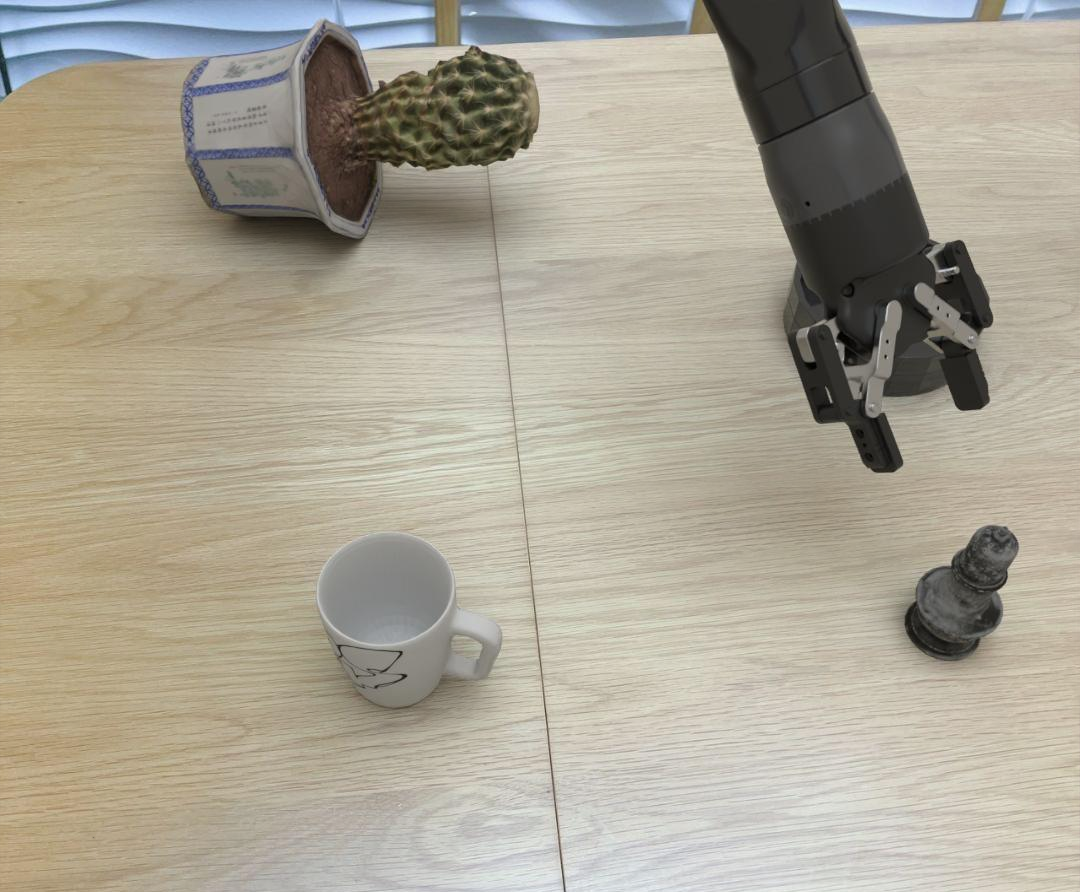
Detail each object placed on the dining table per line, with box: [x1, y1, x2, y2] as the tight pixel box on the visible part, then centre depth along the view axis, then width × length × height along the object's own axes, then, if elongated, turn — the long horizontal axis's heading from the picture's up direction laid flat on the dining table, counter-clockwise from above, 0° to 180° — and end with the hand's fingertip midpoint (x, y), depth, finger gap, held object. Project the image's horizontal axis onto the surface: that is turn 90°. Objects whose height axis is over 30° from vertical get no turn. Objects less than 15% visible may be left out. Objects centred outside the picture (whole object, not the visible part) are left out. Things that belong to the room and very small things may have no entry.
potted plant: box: [179, 17, 541, 240], centre depth 95 cm, size 18×18×30 cm
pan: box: [782, 238, 991, 397], centre depth 93 cm, size 16×16×4 cm
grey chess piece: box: [904, 524, 1020, 662], centre depth 72 cm, size 6×6×12 cm
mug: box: [315, 531, 503, 708], centre depth 70 cm, size 11×8×10 cm
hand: (932, 438), depth 69 cm, fingers open, 8 cm apart
